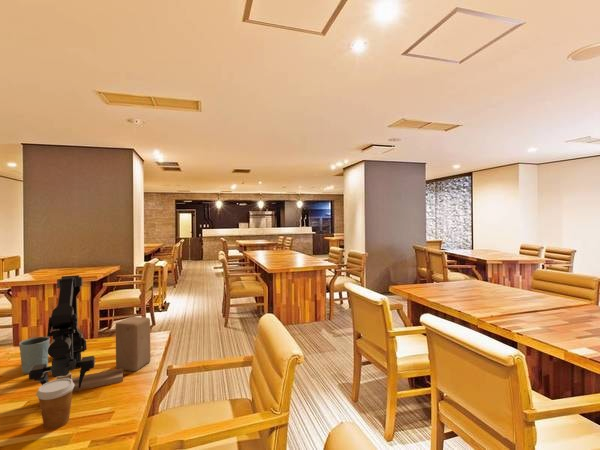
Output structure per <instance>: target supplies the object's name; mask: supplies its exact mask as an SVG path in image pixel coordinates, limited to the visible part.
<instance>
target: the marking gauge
mask: <svg viewBox="0 0 600 450" xmlns="http://www.w3.org/2000/svg"><path fill="white" fill-rule="evenodd" d="M72 375H73V373H72V372H69V374H68V375H66V376H58V377H56V379H55V380H57V379H64V378H65V379H71V380H72V378H73V376H72Z"/></svg>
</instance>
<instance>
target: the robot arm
mask: <svg viewBox="0 0 600 450" xmlns="http://www.w3.org/2000/svg"><path fill="white" fill-rule="evenodd" d="M83 284H84V280H83V277H82V276H80V275H79V274H76V275H62V276H61V278H58V279H56V288H57V289H59V294H58V301H57V306H56V307H55V308H54V309H52V312H51V316H49V317H48V324H47V325H48V326H47V333H46V334H47V336H46V337H49V338H50V337H52V336H53V340H51V343H49V348H48V356H50V357H51V358H52V362H51V365H48V366H47V365H46V364H40V365H35V366H33V367H32V369H31V370H30V372H29V373H28V380H29V381H31V380H33V381H34V382H39V383H40V384H41V386H42V385H43V384H45V383H47V382H50V381H49V373H51V374H50V375H51V378H53V379H54V378H56V379H57V377H58V376H66V375H68V374H69V373H70V371H73V370H75V369H78V368H79V369H80V371H79V376H80V377H79V388H80V386H81V383H82V380H83V377H84V375H86V373H87V372H90V370H92V369H94V368H95V365H96V364H95V363H96V357H95V355H90V356H82V353H84V352H85V351H87V350H88V349H87V347H88V346H87V340H86V338H85V337H84V336H83V331H82V330H81V329H80V328H79V319H78V317H79V316H78V315H79V314H78V295H79V293H80V291H81V289H82V287H83ZM52 329H53V330H55V331H52ZM58 329H59V330H58Z"/></svg>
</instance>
